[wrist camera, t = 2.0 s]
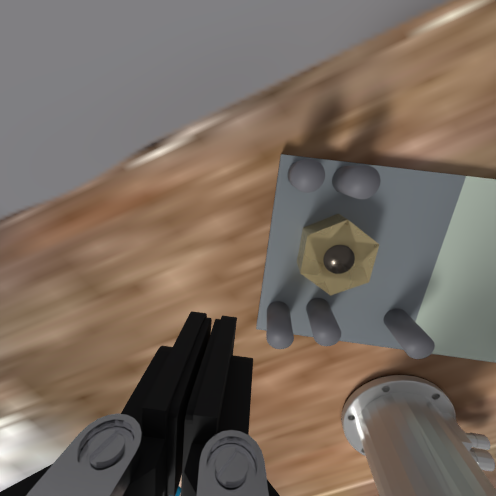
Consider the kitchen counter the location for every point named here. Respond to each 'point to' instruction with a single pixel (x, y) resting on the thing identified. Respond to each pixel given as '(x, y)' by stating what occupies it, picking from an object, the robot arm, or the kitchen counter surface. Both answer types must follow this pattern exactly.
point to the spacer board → (387, 259)
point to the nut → (336, 254)
